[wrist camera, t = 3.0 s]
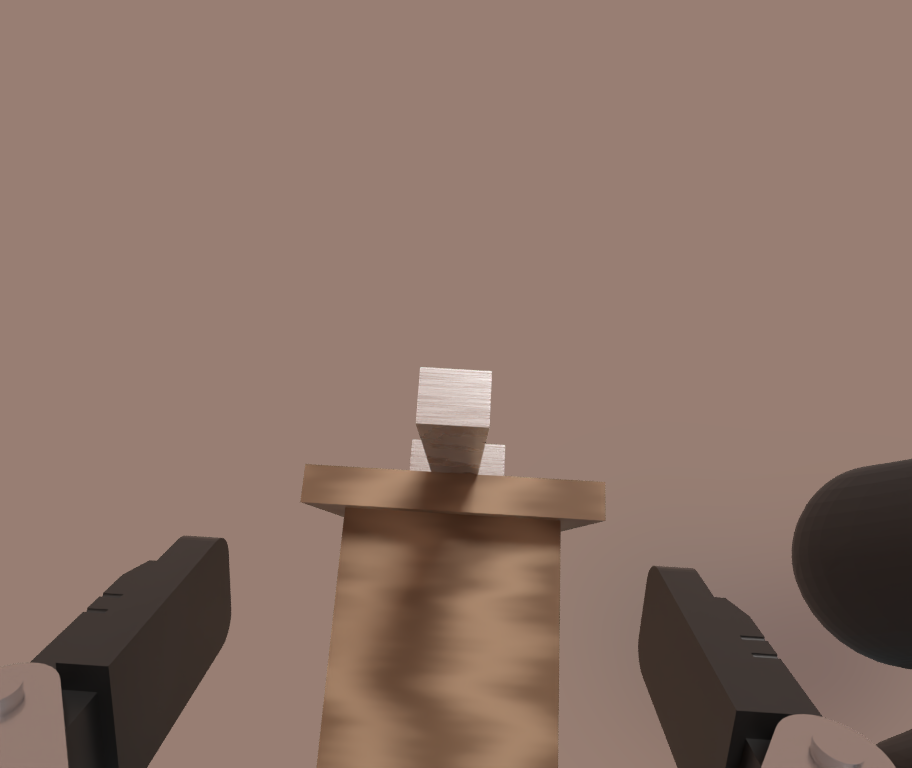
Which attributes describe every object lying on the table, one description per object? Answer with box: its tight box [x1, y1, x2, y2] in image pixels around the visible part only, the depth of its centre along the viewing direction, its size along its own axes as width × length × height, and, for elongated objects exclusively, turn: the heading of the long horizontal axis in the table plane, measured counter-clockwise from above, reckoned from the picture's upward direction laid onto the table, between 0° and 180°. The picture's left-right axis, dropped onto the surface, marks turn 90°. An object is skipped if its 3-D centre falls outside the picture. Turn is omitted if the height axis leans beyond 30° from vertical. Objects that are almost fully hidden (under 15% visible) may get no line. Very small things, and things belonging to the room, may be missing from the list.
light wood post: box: [410, 367, 505, 476], centre depth 36 cm, size 7×32×4 cm, turn 0°
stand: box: [301, 464, 605, 768], centre depth 37 cm, size 16×20×32 cm
